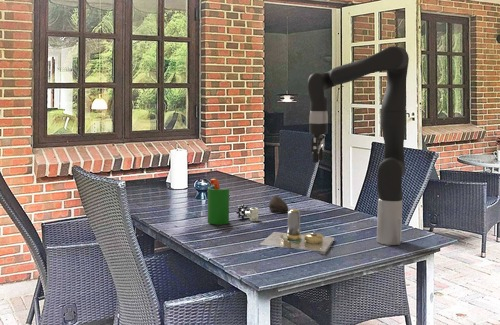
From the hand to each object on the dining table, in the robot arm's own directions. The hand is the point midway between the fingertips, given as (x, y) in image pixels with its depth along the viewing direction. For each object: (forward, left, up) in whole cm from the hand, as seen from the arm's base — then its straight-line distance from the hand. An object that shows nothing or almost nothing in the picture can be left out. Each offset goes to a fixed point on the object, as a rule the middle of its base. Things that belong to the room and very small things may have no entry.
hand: (318, 161), depth 220 cm
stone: (+26, -31, -30) cm, 50 cm away
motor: (+45, 0, -30) cm, 54 cm away
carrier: (+3, +21, -30) cm, 37 cm away
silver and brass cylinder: (+5, +19, -28) cm, 35 cm away
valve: (+33, -7, -30) cm, 45 cm away
